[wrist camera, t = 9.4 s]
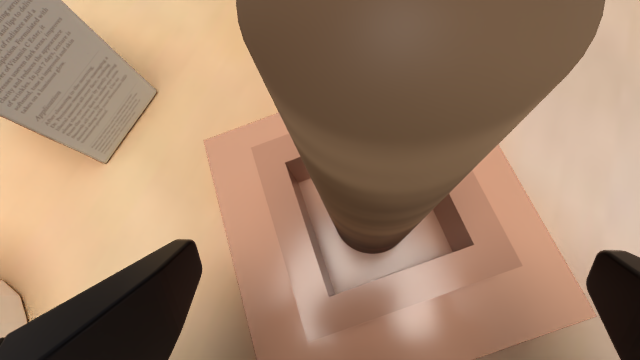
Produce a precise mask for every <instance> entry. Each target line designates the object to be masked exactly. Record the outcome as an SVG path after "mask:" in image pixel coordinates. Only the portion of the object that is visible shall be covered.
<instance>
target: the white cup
mask: <svg viewBox="0 0 640 360" xmlns="http://www.w3.org/2000/svg"><path fill="white" fill-rule="evenodd" d="M26 323H27V318H26V315H25V311H24V308H23V304H22V301H21V298H20V296H19V295H18V294H17V293H16V292H15V291H14V290H13V289H12V288H11V287H10V286H9V285H7V284H6V283H5V282H4V281H3V280H0V338H2V337H6V335H7V334H9V333H10V332H12V331H14V330H16V329H18V328H19V327H21V326H23V325H25V324H26Z"/></svg>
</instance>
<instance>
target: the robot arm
mask: <svg viewBox="0 0 640 360" xmlns="http://www.w3.org/2000/svg"><path fill="white" fill-rule="evenodd" d="M201 274H202V264H201V260H200V257H199V253H198V250H197V247H196V244H195V242H194V241H193V240H187V239H177V240H174V241H172V242H171V243H169V244H167V245H165V246H164V247H162V248H160V249H158V250H156V251H155V252H153V253H151V254H149V255H148V256H146V257H144V258H142V259H140V260H139V261H137V262H135V263H133V264H132V265H130V266H128V267H126V268H124V269H123V270H121V271H119V272H117V273H116V274H114V275H112V276H110V277H108V278H107V279H105V280H103V281H101V282H99V283H98V284H96V285H94V286H92V287H91V288H89V289H87V290H85V291H83V292H82V293H80V294H78V295H76V296H75V297H73V298H71V299H69V300H67V301H66V302H64V303H62V304H60V305H59V306H57V307H55V308H53V309H51V310H50V311H48V312H46V313H44V314H42V315H41V316H39V317H37V318H35V319H34V320H32V321H30V322H28V323H26V324H25V325H23V326H21V327H19V328H18V329H16V330H14V331H12V332H10V333H9V334H7V335H6V337H2V338H0V360H168V359H169V357H170V355H171V353H172V350H173V348H174V346H175V344H176V342H177V340H178V337H179V335H180V333H181V330H182V328H183V325H184V323H185V320H186V317H187V314H188V311H189V308H190V306H191V303H192V300H193V297H194V294H195V292H196V289H197V286H198V283H199V280H200V278H201ZM586 285H587V290H588V293H589V295H590V297H591V299H592V301H593V303H594V305H595V307H596V309H597V311H598V314H599V316H600V318H601V320H602V322H603V324H604V326H605V328H606V330H607V332H608V334H609V337H610V339H611V341H612V343H613V345H614V347H615V349H616V351H617V353H618V355H619V357H620V359H621V360H640V258H639V257H637V256H635V255H633V254H631V253H629V252H626V251H620V250H603V251H600V252H599V253H598V254H597V256H596V258H595V260H594V263H593V265H592V267H591V270H590V272H589V275H588V277H587V281H586Z"/></svg>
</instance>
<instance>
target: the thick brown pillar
mask: <svg viewBox="0 0 640 360" xmlns="http://www.w3.org/2000/svg"><path fill="white" fill-rule="evenodd" d="M604 4H605V0H236V7H237V15H238V23H239V26H240V30H241V33H242V36H243V40H244V42H245V44H246V46H247V48H248V50H249V52H250V54H251V56H252V58H253V60H254V63H255V65H256V67H257V69H258V71H259V73H260V75H261V77H262V79H263V81H264V83H265V85H266V87H267V89H268V91H269V93H270V95H271V97H272V99H273V101H274V103H275V105H276V107H277V110H278V112H279V114H280V116H281V118H282V120H283V122H284V124H285V126H286V128H287V130H288V132H289V134H290V136H291V138H292V140H293V142H294V144H295V146H296V148H297V150H298V152H299V155H300V157H301V159H302V161H303V163H304V165H305V167H306V169H307V171H308V173H309V175H310V177H311V179H312V181H313V183H314V185H315V187H316V189H317V191H318V193H319V195H320V197H321V200H322V202H323V204H324V206H325V208H326V210H327V212H328V214H329V216H330V218H331V220H332V222H333V224H334V226H335V228H336V230H337V232H338V234H339V236H340V237H341V239H342V240H343V241H344V242H345V243H346V244H347V245H348V246H350V247H351V248H353V249H355V250H357V251H359V252H362V253H367V254H378V253H383V252H386V251H388V250H390V249H392V248H394V247H395V246H396V245H398V244H399V243H400V242H401V241H402V240H403V239H404V238H405V237H406V236H407V235H408V234H409V233H410V232H411V231H412V230H413V229H414V228H415V227H416V226H417V225H418V224H419V223H420V222H421V221H422V220H423V219H424V218H425V217H426V216H427V215H428V214H429V213H430V212H431V211H432V210H433V209H434V208H435V207H436V206H437V205H438V204H439V203H440V202H441V201H442V200H443V199H444V198H445V197H446V196H447V195H448V194H449V193H450V192H451V191H452V190H453V189H454V188H455V187H456V186H457V185H458V184H459V183H460V182H461V181H462V180H463V179H464V178H465V177H466V176H467V175H468V174H469V173H470V172H471V171H472V170H473V169H474V168H475V167H476V166H477V165H478V164H479V163H480V162H481V161H482V160H483V159H484V158H485V157H486V156H487V155H488V154H489V153H490V152H491V151H492V150H493V149H494V148H495V147H496V146H497V145H498V144H499V143H500V142H501V141H502V140H503V139H504V138H505V137H506V136H507V135H508V134H509V133H510V132H511V131H512V130H513V129H514V128H515V127H516V126H517V125H518V124H519V123H520V122H521V121H522V120H523V119H524V118H525V117H526V116H527V115H528V114H529V113H530V112H531V111H532V110H533V109H534V108H535V107H536V106H537V105H538V104H539V103H540V102H541V101H542V100H543V99H544V98H545V97H546V96H547V95H548V94H549V93H550V92H551V91H552V90H553V89H554V88H555V87H556V86H557V85H558V84H559V83H560V82H561V81H562V80H563V79H564V78H565V77H566V76H567V75H568V74H569V73H570V71H571V70H572V69H573V68H574V67H575V65H576V64H577V63H578V62H579V60H580V59H581V58H582V57H583V56H584V54H585V52H586V51H587V49H588V47H589V45H590V44H591V42H592V40H593V38H594V37H595V35H596V32H597V29H598V26H599V24H600V21H601V18H602V16H603V10H604Z"/></svg>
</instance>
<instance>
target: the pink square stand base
mask: <svg viewBox="0 0 640 360" xmlns="http://www.w3.org/2000/svg"><path fill="white" fill-rule="evenodd" d="M203 141H204V145H205V149H206V153H207V157H208V161H209V165H210V170H211V174H212V178H213V182H214V186H215V190H216V194H217V198H218V202H219V207H220V211H221V215H222V219H223V223H224V227H225V231H226V235H227V240H228V244H229V248H230V252H231V256H232V260H233V264H234V268H235V272H236V277H237V281H238V285H239V289H240V293H241V297H242V301H243V305H244V309H245V314H246V318H247V322H248V326H249V330H250V334H251V338H252V342H253V346H254V351H255V355H256V359H257V360H474V359H477V358H480V357H483V356H486V355H488V354H491V353H494V352H497V351H500V350H503V349H505V348H508V347H511V346H514V345H517V344H520V343H522V342H525V341H528V340H531V339H534V338H537V337H539V336H542V335H545V334H548V333H551V332H554V331H557V330H559V329H562V328H565V327H568V326H571V325H574V324H576V323H579V322H582V321H585V320H588V319H591V318H593V317H596V314H595V312H594V310H593V309H592V307H591V305H590V303H589V302H588V300H587V298H586V296H585V295H584V293H583V291H582V289H581V288H580V286H579V284H578V282H577V281H576V279H575V277H574V276H573V274H572V272H571V270H570V269H569V267H568V265H567V263H566V262H565V260H564V258H563V256H562V255H561V253H560V251H559V249H558V248H557V246H556V244H555V242H554V241H553V239H552V237H551V235H550V234H549V232H548V230H547V228H546V227H545V225H544V223H543V221H542V220H541V218H540V216H539V214H538V213H537V211H536V209H535V207H534V206H533V204H532V202H531V200H530V199H529V197H528V195H527V194H526V192H525V190H524V188H523V187H522V185H521V183H520V181H519V180H518V178H517V176H516V174H515V173H514V171H513V169H512V167H511V166H510V164H509V162H508V160H507V159H506V157H505V155H504V153H503V152H502V150H501V148H500V146H499V145H497V146H496V147H495V148H494V149H493V150H492V151H491V152H490V153H489V154H488V155H487V156H486V157H485V158H484V159H483V160H482V161H481V162H480V163H479V164H478V165H477V166H476V167H475V168H474V169H473V170H472V171H471V172H470V173H469V174H468V175H467V176H466V177H465V178H464V179H463V180H462V181H461V182H460V183H459V184H458V185H457V186H456V187H455V188H454V189H453V190H452V191H451V192H450V193H449V194H448V195H447V196H446V197H445V198H444V199H443V200H442V201H441V202H440V203H439V204H438V205H437V206H436V207H435V208H434V209H433V210H432V211H431V212H430V213H429V214H428V215H427V216H426V217H425V218H424V219H423V220H422V221H421V222H420V223H419V224H418V225H417V226H416V227H415V228H414V229H413V230H412V231H411V232H410V233H409V234H408V235H407V236H406V237H405V238H404V239H403V240H402V241H401V242H400V243H399V244H398V245H396V246H395V247H394V248H392V249H390V250H388V251H386V252H383V253H378V254H367V253H362V252H359V251H357V250H355V249H353V248H351V247H350V246H348V245H347V244H346V243H345V242H344V241H343V240H342V239H341V237H340V236H339V234H338V232H337V230H336V228H335V226H334V224H333V222H332V220H331V218H330V216H329V214H328V212H327V210H326V208H325V206H324V204H323V202H322V200H321V197H320V195H319V193H318V191H317V189H316V187H315V185H314V183H313V181H312V179H311V177H310V175H309V173H308V171H307V169H306V167H305V165H304V163H303V161H302V159H301V157H300V155H299V152H298V150H297V148H296V146H295V144H294V142H293V140H292V138H291V136H290V134H289V132H288V130H287V128H286V126H285V124H284V122H283V120H282V118H281V116H280V114H279V113H276V114H274V115H271V116H268V117H266V118H263V119H260V120H257V121H255V122H252V123H249V124H247V125H244V126H241V127H238V128H236V129H233V130H230V131H228V132H225V133H222V134H219V135H217V136H214V137H211V138H209V139H206V140H203Z"/></svg>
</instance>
